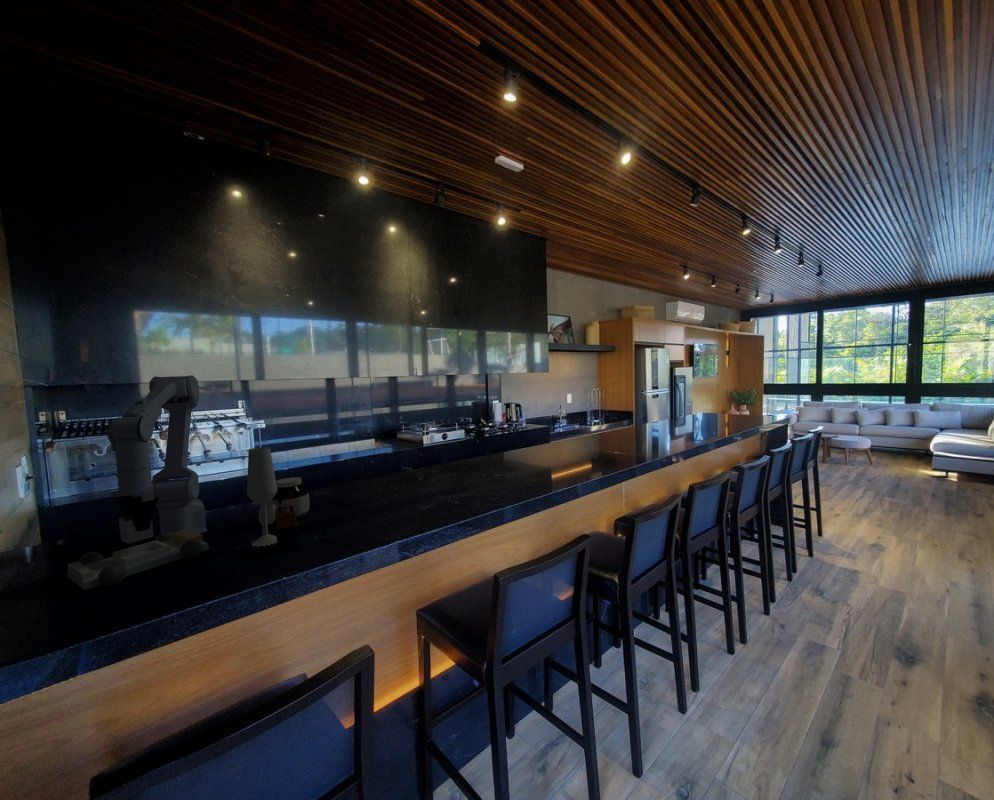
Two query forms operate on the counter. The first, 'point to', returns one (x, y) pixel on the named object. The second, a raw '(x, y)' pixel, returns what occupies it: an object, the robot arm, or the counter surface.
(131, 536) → the engine block
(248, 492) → the champagne flute
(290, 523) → the battery
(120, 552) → the car chassis
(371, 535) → the counter surface
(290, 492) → the spread jar
